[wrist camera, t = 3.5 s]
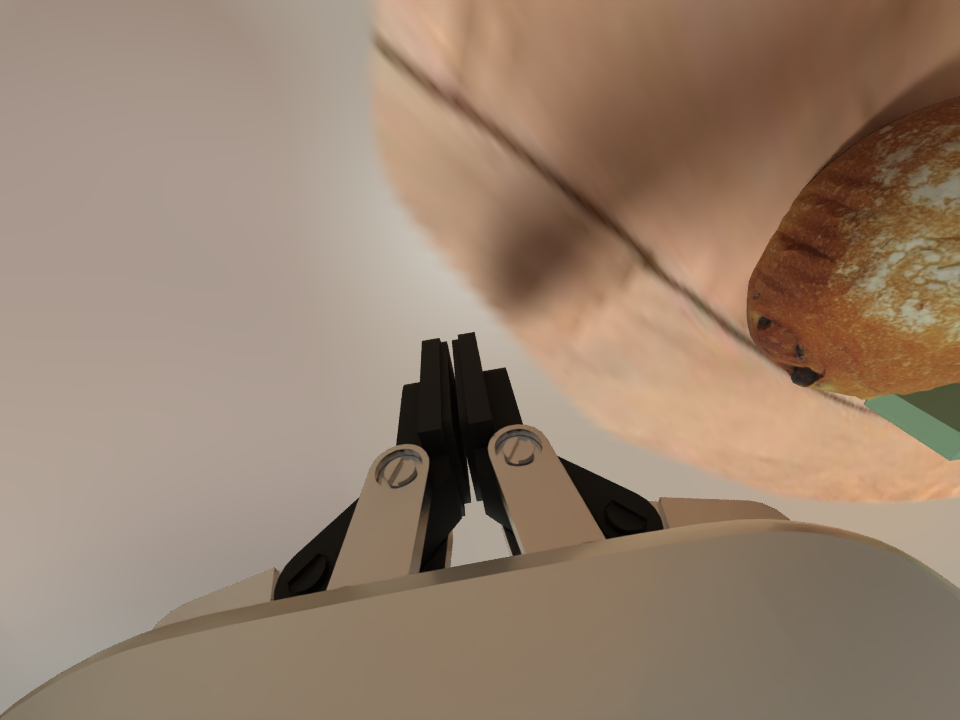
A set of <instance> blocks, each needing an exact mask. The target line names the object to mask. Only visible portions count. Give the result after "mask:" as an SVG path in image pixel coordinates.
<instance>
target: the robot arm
mask: <svg viewBox="0 0 960 720" xmlns="http://www.w3.org/2000/svg"><path fill="white" fill-rule="evenodd" d="M452 347H453V358H454V368H455V376H454V372H453V367H452V362H451V358H450V353H449V349H448V344H447V342H441V341H440V338H437V339H431V340H426V341H422V351H421V371H420V382H418V383H412V384H407V385H404V386H403V391H402V399H401V408H400V417H399V426H398V434H397V443H396V446H394V447H392V448H390V449H387V450H386V451H385V452H383V453H382V454H380V455H379V456H378V457H377V458H376V459H375V461H374V462H373V464H372V466H371V467H370V469H369V472H368V475H367V478H366V481H365V483H364V486H363V489H362V492H361V494H360V497H359V498H358V499H357V500H356V501H355V502H353V503H352V504H351V505H350V506H349V507H348V508H347V509H346V510H345V511H344V512H343V513H341V514H340V515H339V516H338V517H337V518H336V519H335V520H334V521H333V522H331V523H330V524H329V525H328V526H327V527H326V528H325V529H324V530H323V531H322V532H320V533H319V534H318V535H317V536H316V537H315V538H314V539H313V540H312V541H311V542H310V543H308V544H307V545H306V546H305V547H304V548H303V549H302V550H301V551H299V552H298V553H297V554H296V555H295V556H294V557H293V558H292V559H291V560H290V562H289V563H288V564H287V565H286V566H285V568H284V569H282V570H279V571H278V570H277V569H276V568H272V569H269V570H267V571H264V572H262V573H260V574H257V575H254V576H252V577H250V578H247V579H245V580H242V581H240V582H237V583H235V584H232V585H230V586H227V587H225V588H222V589H220V590H217V591H215V592H212V593H210V594H208V595H205V596H203V597H200V598H198V599H195V600H193V601H190V602H188V603H185V604H183V605H181V606H180V607H178V608H176V609H174V610H173V611H171V612H170V613H169V614H167V615H166V616H165V617H164V618H163V619H162V620H160V621H159V622H158V623H157V624H156V626H155V627H154V628H153V629H152V630H151V631H148V632H145V633H142V634H139V635H137V636H134V637H132V638H130V639H127V640H125V641H123V642H120V643H118V644H116V645H113V646H111V647H109V648H107V649H105V650H102V651H100V652H98V653H96V654H94V655H92V656H91V657H89V658H87V659H85V660H83V661H81V662H80V663H78V664H76V665H74V666H72V667H71V668H69V669H67V670H65V671H63V672H61V673H60V674H58V675H56V676H55V677H53V678H51V679H50V680H48V681H47V682H45V683H44V684H42V685H40V686H39V687H37V688H36V689H34V690H33V691H31V692H30V693H28V694H27V695H26V696H24V697H23V698H21V699H20V700H19V701H17V702H16V703H14V704H13V705H12V706H11V707H9V708H8V709H7V710H6V711H5V712H3V713H2V714H1V715H0V720H960V589H959V588H958V587H957V586H955V585H954V584H952V583H951V582H950V581H948V580H947V579H945V578H944V577H943V576H941V575H940V574H939V573H937V572H936V571H934V570H933V569H931V568H929V567H928V566H927V565H925V564H924V563H922V562H920V561H919V560H917V559H916V558H914V557H912V556H910V555H908V554H907V553H905V552H903V551H901V550H899V549H897V548H896V547H893V546H891V545H888V544H886V543H884V542H882V541H879V540H877V539H874V538H871V537H868V536H864V535H861V534H858V533H854V532H851V531H847V530H843V529H839V528H834V527H829V526H824V525H818V524H813V523H805V522H797V521H791V520H790V519H789V518H787V517H786V516H785V515H783V514H782V513H781V512H779V511H778V510H776V509H774V508H772V507H770V506H768V505H765V504H763V503H758V502H754V501H745V500H719V499H693V498H692V499H691V498H666V497H660V499H659V502H652V501H647V500H646V499H645V498H643V497H641V496H640V495H638V494H636V493H634V492H632V491H630V490H628V489H626V488H624V487H622V486H620V485H618V484H615V483H613V482H611V481H609V480H607V479H605V478H603V477H601V476H599V475H597V474H594V473H592V472H590V471H588V470H586V469H584V468H582V467H580V466H578V465H575V464H573V463H571V462H569V461H567V460H565V459H563V458H560V457H559V456H557V455H556V453H555V451H554V450H553V448H552V447H551V445H550V443H549V441H548V439H547V438H546V437H545V436H544V434H543V433H542V432H541V431H539V430H538V429H536V428H534V427H531V426H528V425H523V423H522V420H521V416H520V413H519V410H518V406H517V403H516V400H515V397H514V393H513V390H512V387H511V383H510V380H509V377H508V373H507V370H506V368H499V369H493V370H488V371H482V366H481V361H480V356H479V351H478V347H477V341H476V337H475V332H472V333H466V334H460V335H458V339H457V340H452ZM467 460H468V465H469V469H470V473H471V478H472V482H473V487H474V491H475V495H476V500H477V501H482V500H483V503H484V508H485V513H486V515H488V516H489V517H491V518H493V519H494V520H495V521H497V522H498V523H500V524H501V527H502V532H503V534H504V538H505V540H506V544H507V547H508V549H509V553H510V557H505V558H500V559H494V560H489V561H483V562H478V563H472V564H467V565H462V566H456V567H450V565H451V555H452V545H453V531H452V530H453V528H454V527H455V526H456V525H457V523H458V522H459V521H460V520H461V519H462V516H465V507H464V504H465V503H471V495H470V485H469V475H468V466H467Z"/></svg>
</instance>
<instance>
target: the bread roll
mask: <svg viewBox="0 0 960 720" xmlns="http://www.w3.org/2000/svg"><path fill="white" fill-rule="evenodd" d="M747 322H748V328H749V332H750V336H751V338H752V339H753V341H754V343H755V344H756V345H757V346H758V347H759V348H760V350H761V351H762V352H763V353H764V354H765V355H766V356H767V357H768V358H769V359H770V360H772V361H773V362H774V363H776V364H777V365H779V366H780V367H782V368H783V369H784V370H786V371H787V372H788V373H789V375H790V376H791V379H792V381H793V383H795V384H797V385H799V386H801V387H809V388H815V389H820V390H824V391H826V392H835V393H840V394H844V395H849V396H856V397H858V398H860V399H861V400H868V399H874V398H876V397H879V396H884V395H891V394H900V395H906V394H910V393H914V392H918V391H927V390H932V389H934V388H936V387H940V386H944V385H948V384H952V383H960V97H959V98H953V99H949V100H946V101H944V102H941V103H938V104H935V105H932V106H929V107H927V108H924V109H922V110H919V111H917V112H914V113H912V114H909V115H907V116H904V117H902V118H899V119H898V120H896V121H894V122H892V123H890V124H888V125H886V126H884V127H882V128H880V129H878V130H877V131H875V132H873V133H871V134H870V135H868V136H867V137H865V138H864V139H862V140H861V141H859V142H857V143H856V144H855V145H853V146H852V147H851V148H850V149H848V150H847V151H846V152H844V153H843V154H842V155H841V156H839V157H838V158H837V159H835V160H834V161H833V162H832V163H830V164H829V165H828V166H826V167H825V168H824V169H823V170H822V171H821V172H820V173H819V174H818V175H817V176H816V177H815V178H814V179H813V180H812V181H811V182H810V183H809V184H808V185H807V186H806V187H805V188H804V189H803V190H802V191H801V192H800V194H799V195H798V197H797V198H796V199H795V201H794V202H793V204H792V206H791V208H790V210H789V211H788V213H787V214H786V215H785V216H784V218H783V219H782V221H781V223H780V225H779V228H778V230H777V231H776V232H775V234H774V235H773V236H772V238H771V239H770V241H769V243H768V245H767V247H766V249H765V251H764V253H763V254H762V256H761V258H760V260H759V262H758V263H757V265H756V267H755V269H754V271H753V273H752V275H751V278H750V281H749V287H748V296H747Z"/></svg>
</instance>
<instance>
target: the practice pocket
mask: <svg viewBox="0 0 960 720" xmlns="http://www.w3.org/2000/svg"><path fill="white" fill-rule="evenodd" d="M864 405H865V406H866V407H868V408H870V409H871V410H873V411H874V412H876V413H877V414H879V415H880V416H882V417H883V418H885V419H886V420H888V421H889V422H891V423H893V424H894V425H896V426H897V427H899V428H900V429H902V430H903V431H905V432H906V433H908V434H909V435H911V436H912V437H914V438H915V439H917V440H919V441H920V442H922V443H923V444H925V445H926V446H928V447H929V448H931V449H932V450H934V451H935V452H937V453H938V454H940V455H941V456H943V457H945V458H946V459H948V460H949V461H952V460H958V459H960V383H952V384H948V385H944V386H940V387H936V388H934V389H932V390H927V391H918V392H914V393H910V394H906V395H900V394H891V395H884V396H879V397H876V398H874V399H868V400H867V401H866V402H865V404H864Z"/></svg>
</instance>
